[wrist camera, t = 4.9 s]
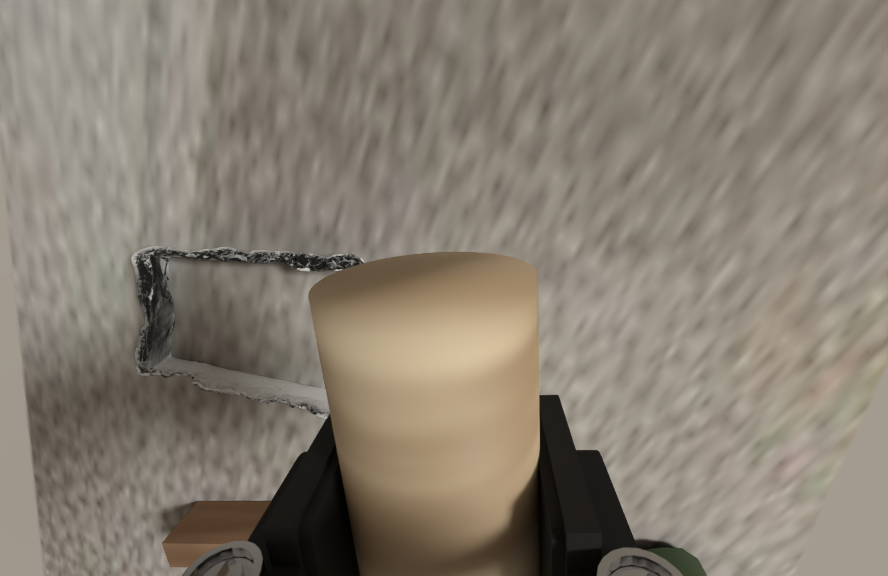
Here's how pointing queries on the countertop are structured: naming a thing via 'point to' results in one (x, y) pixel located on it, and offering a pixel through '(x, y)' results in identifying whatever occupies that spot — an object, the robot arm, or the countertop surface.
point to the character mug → (680, 560)
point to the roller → (435, 411)
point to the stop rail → (211, 528)
